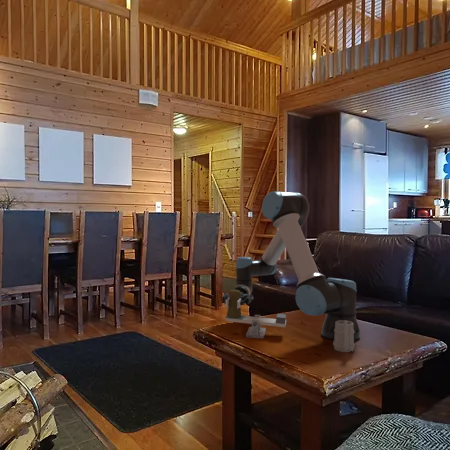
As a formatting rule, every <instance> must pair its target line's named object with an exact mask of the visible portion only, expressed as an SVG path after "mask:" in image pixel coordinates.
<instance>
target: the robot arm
mask: <svg viewBox="0 0 450 450" xmlns="http://www.w3.org/2000/svg"><path fill="white" fill-rule="evenodd" d="M261 211H262V215H263V217H264V218H266V219H267V220H271V223H272V226H273V227H274V228H277V231H276V232H275V234H274V235H273V238H272V239H271V241H270V242H269V244H268V246H267V247H266V249H265V251H264V252H263V254H262V256H261V258H260V259H258V260H253V257H251V256H250V257H249V256H238V257H236V258H237V259H236V265H235V269H236V270H235V273H236V278H235V279H236V280H235V287H234V288H233V290H239V291H240V292H241V296H240V298H239V300H238V301H237V308H241V307H242V306H243V305H245V304H246V305H247V306H248V305H250V303H251V302H252V301H253V302H254V294H252V293H253V277H259V276H260V277H261V276H270V275H274V274H275V273H276V272H277V268H278V264H277V262H278V261H279V259H280V257H282V254H283V252H285V249H286V252H287V254H288V257H289V259H290V261H291V264H292V266H293V267H292V268H293V269H294V272H295V274H296V277H297V279H298V282H297V284H296V287H297V289H296V291H295V296H294V297H295V302H296V305H297V307H298V308H299V310H300V311H301V312H302V313H304V314H305V315H307V316H321V315H324V314H325V318H324V321H323V324H322V325H321V336H322V337H324V338H327V339H329V340H334V338H335V332H334V329H335V322H336V321H338V320H344V321H351V322H352V323H353V329H354V341H355V340H356V339H357V340H359V339H360V338H361V331H360V327H359V325H358V321H357V315H356V314H357V293H358V291H357V283H356V282H355V281H354V280H350V279H343V278H336V277H328V278H327V277H326V275H324V274H322V273H321V272H319V270H318V266H317V264H316V262H315V260H314V257H313V254H312V252H311V249H310V247H309V245H308V244H309V243H307V240H306V238H305V235H304V233H303V230H302V227H303V225H305V222H306V221H307V219H308V217H309V214H310V202H309V200H308V198H307V197H306V196H305V195H304V194H302V193H301V192H300V193H299V192H295V191H293V192H292V191H289V192H288V191H287V192H286V191H280V190H277V191H270V192H268V193H267V194H266V195H265V196H264V198H263V199H262V204H261ZM229 299H230V298H229V295H228V293H227V292H224V293H223V295H222V296H221V303H222V304H224V306H225V308H227V309H228V306H229Z"/></svg>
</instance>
